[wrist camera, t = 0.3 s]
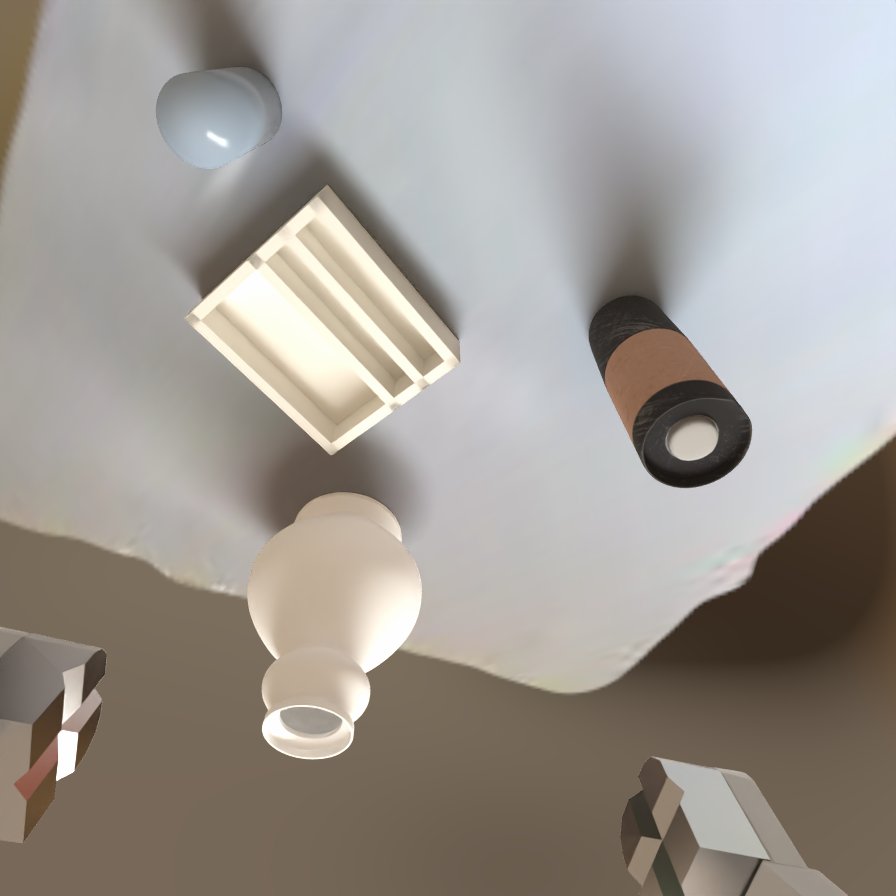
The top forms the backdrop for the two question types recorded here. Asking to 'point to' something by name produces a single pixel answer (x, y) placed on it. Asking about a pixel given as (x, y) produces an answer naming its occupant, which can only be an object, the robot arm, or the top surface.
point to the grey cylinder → (217, 115)
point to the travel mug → (667, 395)
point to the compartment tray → (327, 325)
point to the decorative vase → (329, 618)
